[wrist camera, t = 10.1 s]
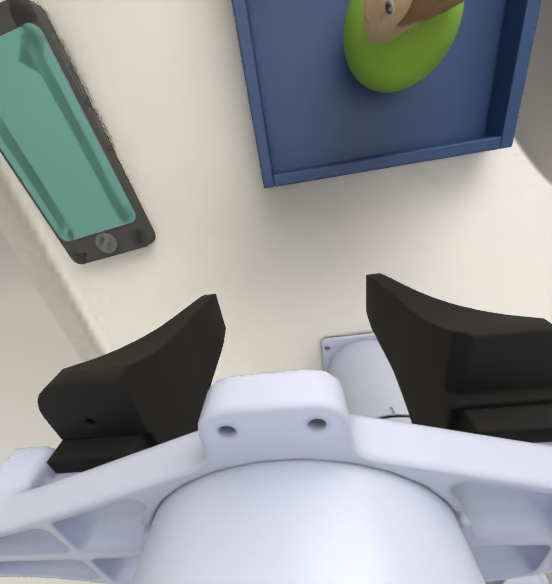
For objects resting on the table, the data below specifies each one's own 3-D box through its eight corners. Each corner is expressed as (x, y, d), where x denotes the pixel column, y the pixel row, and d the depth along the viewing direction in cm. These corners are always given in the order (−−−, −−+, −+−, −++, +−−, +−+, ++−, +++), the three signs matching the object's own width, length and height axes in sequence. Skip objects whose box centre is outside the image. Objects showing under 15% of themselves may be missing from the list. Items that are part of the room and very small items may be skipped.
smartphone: (74, 267, 23) (-80, 37, 16) (84, 261, 24) (-57, 43, 17) (154, 244, 22) (25, -13, 15) (161, 239, 23) (42, -3, 16)
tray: (540, -160, 13) (586, -214, 11) (488, 146, 19) (512, 146, 17) (222, -74, 15) (212, -108, 13) (266, 183, 21) (264, 188, 19)
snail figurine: (304, 29, 16) (339, -176, 6) (416, -50, 15) (753, -541, 4) (341, 125, 18) (414, 105, 8) (441, 65, 17) (703, -60, 6)
